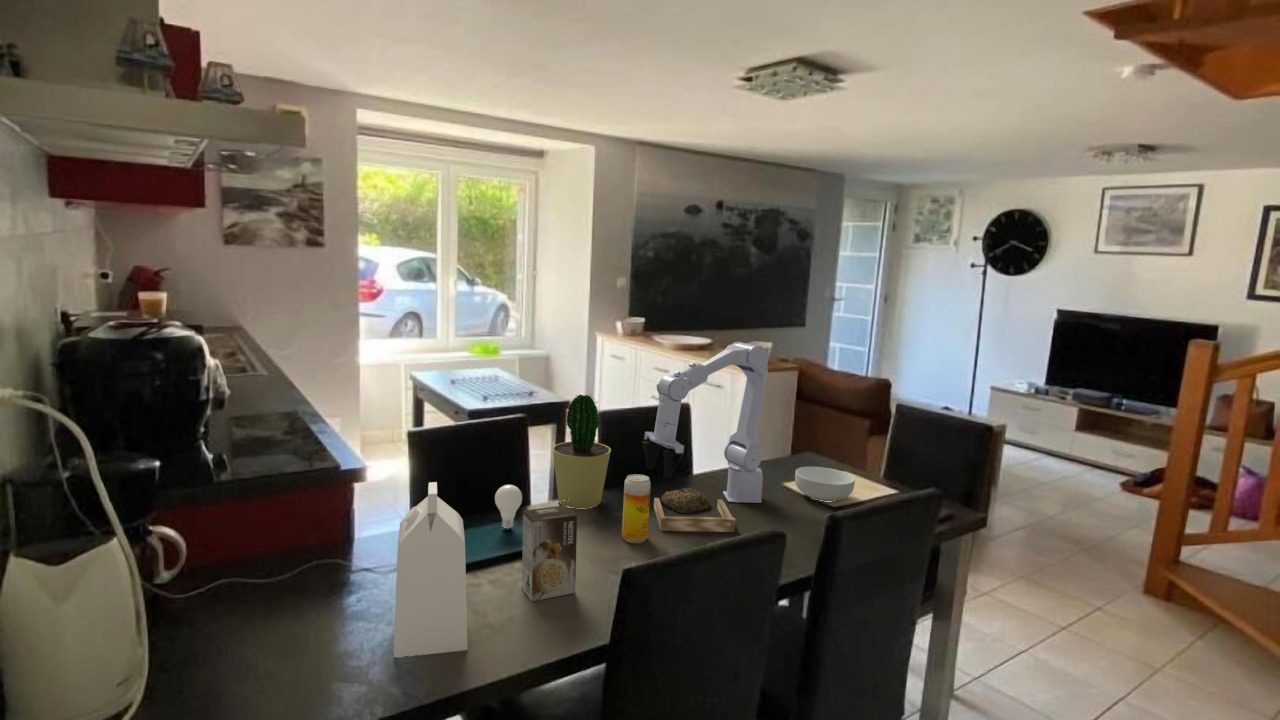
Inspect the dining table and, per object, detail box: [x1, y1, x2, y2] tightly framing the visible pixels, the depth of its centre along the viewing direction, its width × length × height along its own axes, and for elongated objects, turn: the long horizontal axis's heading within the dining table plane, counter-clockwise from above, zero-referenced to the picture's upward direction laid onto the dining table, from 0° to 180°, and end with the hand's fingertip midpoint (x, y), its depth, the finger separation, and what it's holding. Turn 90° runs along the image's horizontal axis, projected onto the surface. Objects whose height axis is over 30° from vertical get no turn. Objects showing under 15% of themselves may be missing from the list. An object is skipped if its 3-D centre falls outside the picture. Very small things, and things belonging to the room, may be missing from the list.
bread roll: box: [660, 487, 711, 514], centre depth 187 cm, size 13×12×5 cm
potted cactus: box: [552, 394, 612, 508], centre depth 183 cm, size 15×15×30 cm
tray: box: [653, 497, 737, 533], centre depth 177 cm, size 18×16×3 cm
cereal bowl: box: [794, 466, 856, 501], centre depth 198 cm, size 17×17×7 cm
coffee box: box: [521, 505, 578, 602], centre depth 134 cm, size 9×6×16 cm
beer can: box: [621, 473, 652, 544], centre depth 161 cm, size 6×6×15 cm
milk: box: [393, 481, 469, 659], centre depth 116 cm, size 12×12×26 cm
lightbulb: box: [494, 484, 523, 528], centre depth 163 cm, size 6×6×11 cm
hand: (658, 473), depth 179 cm, fingers open, 7 cm apart
